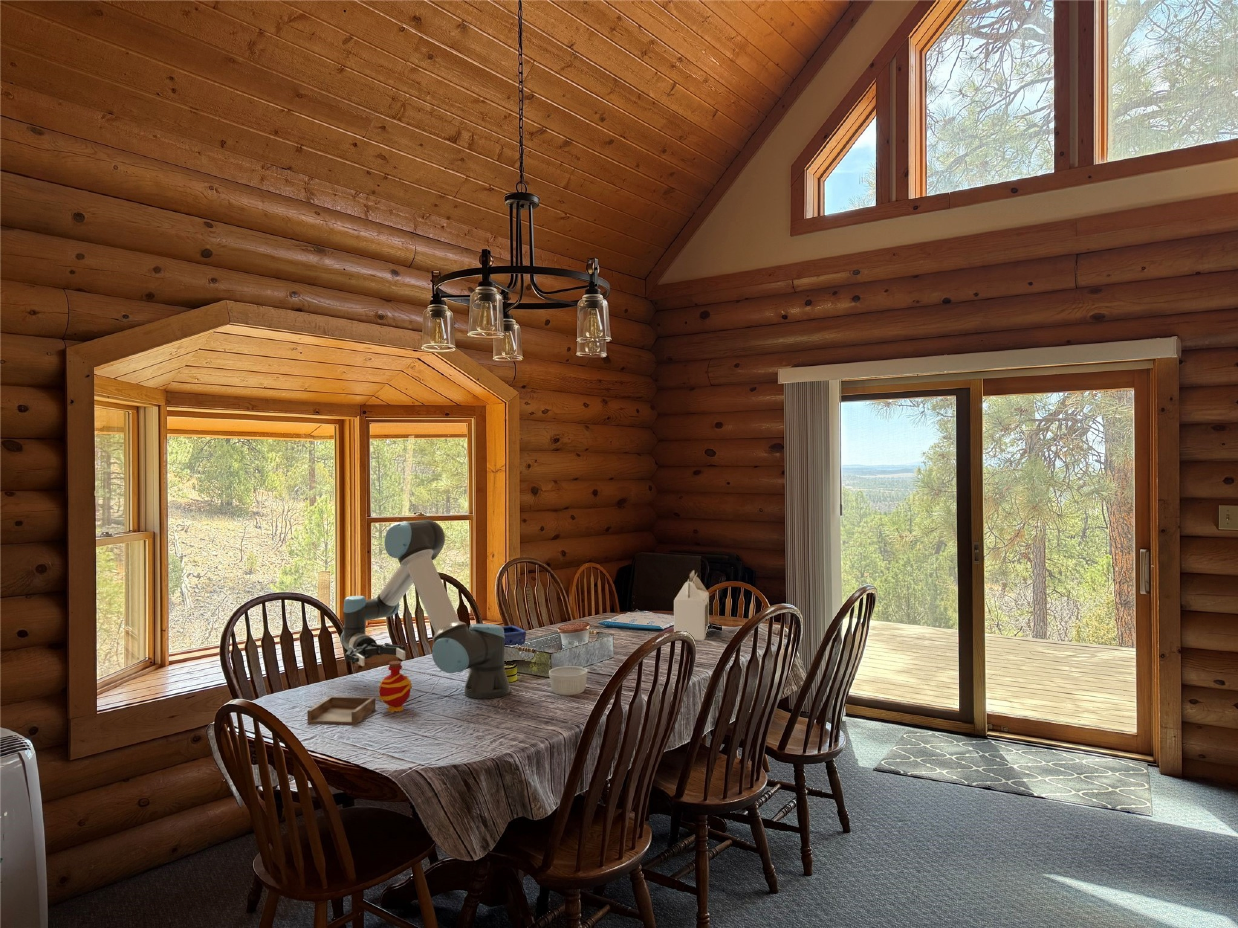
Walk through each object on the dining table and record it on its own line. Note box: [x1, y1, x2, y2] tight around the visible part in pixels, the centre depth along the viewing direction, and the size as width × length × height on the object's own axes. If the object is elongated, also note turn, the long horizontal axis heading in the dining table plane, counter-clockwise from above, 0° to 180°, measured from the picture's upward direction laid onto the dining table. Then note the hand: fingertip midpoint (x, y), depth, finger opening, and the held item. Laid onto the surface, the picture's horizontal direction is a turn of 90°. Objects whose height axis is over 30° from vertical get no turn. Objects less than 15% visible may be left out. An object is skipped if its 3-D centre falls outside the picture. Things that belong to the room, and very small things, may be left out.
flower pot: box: [501, 625, 527, 647], centre depth 325 cm, size 13×13×12 cm
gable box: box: [673, 569, 710, 641], centre depth 370 cm, size 22×13×28 cm, turn 168°
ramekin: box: [548, 665, 588, 696], centre depth 282 cm, size 13×13×7 cm
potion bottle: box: [378, 660, 413, 713], centre depth 261 cm, size 10×10×15 cm
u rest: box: [306, 695, 376, 726], centre depth 254 cm, size 15×15×4 cm
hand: (384, 658), depth 269 cm, fingers open, 13 cm apart
